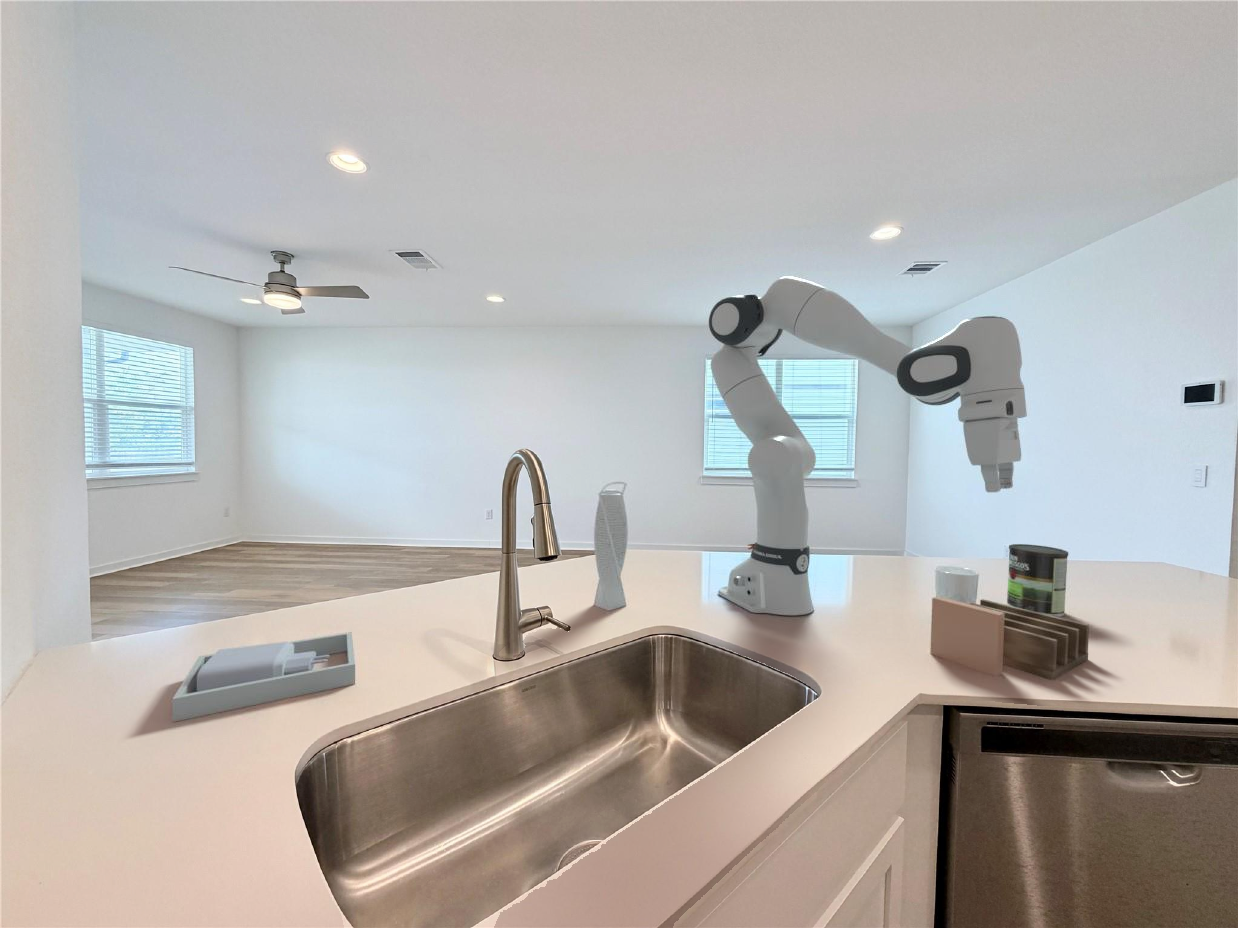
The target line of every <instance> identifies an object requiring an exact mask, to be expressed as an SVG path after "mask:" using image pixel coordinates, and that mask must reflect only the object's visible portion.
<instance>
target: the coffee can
mask: <svg viewBox="0 0 1238 928" xmlns="http://www.w3.org/2000/svg"><path fill="white" fill-rule="evenodd" d="M1008 550H1009V554H1008V555H1009V556H1008V576H1007V594H1006V595H1007V597H1006V598H1007V599H1006V605H1009V606H1013V607H1017V608H1022V609H1026V610H1030V611H1034V612H1038V613H1043V614H1047V615H1051V616H1055V617H1059V618H1062V617H1064V616H1065V615H1066V613H1065V610H1066V592H1067V591H1066V588H1067V573H1068V572H1067V571H1068V570H1067V569H1068V556H1069V551H1067V550H1064V549H1062V548H1061V549H1060V548H1058V547H1057V548H1056V547H1051V546H1046V545H1036V544H1028V543H1027V544H1026V543H1024V544H1023V543H1022V544H1021V543H1017V544H1014V543H1013V544H1009V545H1008Z"/></svg>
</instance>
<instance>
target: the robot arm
mask: <svg viewBox="0 0 1238 928" xmlns="http://www.w3.org/2000/svg"><path fill="white" fill-rule="evenodd" d="M708 328H709V331H710V333H711V335H712V336H713V337H714V338H715V339H716V340H717V342H719V343H721V344H723V346H722V348H720V349H719V350H718V351H717V352H716V353H715V354H714V355H713V356H712V358H711V361H710V369H711V374H712V377H713V379H714V383H715V385H716V388H717V390H718V392H719V394H720V396H721V398H722V401H724V404H725V406H726V408H727V409H728V412H729V413H730V415H731V418H732V419H733V421H734V423H735V424H736V426H737V429H739V430H740V431H741V432H742V433H743V434H744V435H745V437H746V438H747V439H748V440H749V442H750V443H751V445H752V447H751V448H750V450H749V453H748V455H747V467H748V469H749V472H750V473H751V476H752V483H753V489H754V495H755V502H756V513H757V514H756V515H757V516H756V525H757V526H756V542H754V543H751V544H747V546H748V547H747V550H751V553H750V557H749V558H746V560H744V561H743V562H741V563H739V564H738V565H736V566H735V567H734V568H733V569H731V570H730V573H729V576H728V582H727V583H728V585H726V586H723V587H720V588H719V589H718V592H717V594H718V595H719V596H721V597H723V598H724V599H727V600H729V601H730V602H732V603H734V604H736V605H737V606H739V607H741V608H744V609H745V610H746V611H748V612H751V613H754V614H755V613H756V614H773V615H780V616H802V615H807V614H810V613H813V611H814V610H815V607H814V604H813V600H812V595H811V589H810V588H811V587H810V581H809V572H808V571H809V565H810V546H809V545H808V543H809V540H808V539H809V538H808V537H809V508H808V507H807V501H806V493H805V485H804V480H805V479H806V478H808V477H809V476H810V475H811V474H812V472H813V471H814V469H815V466H816V462H817V456H816V452H815V450H814V449H813V447H812V445H811V444H810V443H809V441H808V440H807V438H806V436H805V435H804V434H803V432H802V431H801V429H800V428H799V425H797V424H796V422H795V421H794V419H793V418H792V417H791V415H790V414H789V412H788V411H787V410H786V408H785V407H784V406H783V404H782V402H781V401H780V398H778V395H777V394H776V392H775V391H774V389H773V387H772V385H771V383H770V382H769V380H768V379H767V376H766V375H765V372H764V371H763V369H762V368H761V365H760V364H759V361H758V358H760V357H763V356H764V355H766V353H767V351H769V349H770V348H771V347H773V346H774V345H775V344H776V343H777V342H778V340H779V339H780V337H781V335H782V334H783V331H785V332H787V333H789V334H790V335H792V336H794V337H796V338H798V339H799V340H802V341H804V342H806V343H808V344H811V345H813V346H816V347H818V348H821V349H825V350H828V351H833V352H837V353H840V354H845V355H849V356H851V357H855V358H858V359H861V360H863V361H865V362H868V363H870V364H871V365H873V366H875V367H877V368H878V369H880V370H882V371H884V372H886V373H887V374H890V375H891V376H892V377H893V376H894V377H895V378H896V380H897V383H898V385H899V386H900V388H901V390H903V391H904V392H905V393H906V394H908V395H909V396H911V397H913V398H915V399H916V400H917V401H919V402H920V403H922V404H924V405H928V406H942V405H947V404H949V403H952V402H953V401H955V400H956V399H958V398H960V407H959V408H958V409H957V417H958V421H959V422H961V423H962V425H963V427H962V428H963V435H964V441H965V447H966V453H967V457H968V460H969V462H970V464H971V465H972V466H980V473H981V475H982V479H983V481H984V486H985V487H984V488H985V492H987V493H999V492H1000V491H1001V489H1002V490H1003V489H1004V490H1005V489H1006V490H1007V489H1012V488H1013V487H1014V482H1013V481H1014V480H1013V478H1014V471H1015V469H1014V468H1015V466H1014V463H1017V462H1021V460H1022V449H1021V439H1020V432H1019V424H1018V419H1023V418H1026V417H1027V413H1028V412H1027V406H1026V405H1027V403H1026V393H1025V386H1024V383H1023V381H1022V379H1021V370H1022V365H1023V361H1022V358H1023V357H1022V352H1021V343H1020V340H1019V335H1018V331H1017V328H1016V326H1015V325H1014V323H1013V322H1012V321H1010V320H1009V319H1007V318H1005V317H1002V316H994V315H993V316H990V315H988V316H986V315H985V316H976V317H972V318H967V319H964V320H962V321H960V323H958V324H957V325H956V326H955V327H954V328H953V329H952V330H950V331H949V332H947V333H946V334H944V335H943V336H941V337H939V338H937V339H936V340H933V341H931V342H929V343H927V344H925V345H922V346H920V347H917V348H913V347H911V346H909V345H907V344H905V343H903V342H902V341H900V340H897V339H895V338H893V337H891V336H890V335H887V334H886V333H884V332H882V331H881V330H880V329H878V328H877V327H876V326H875V325H874V324H872V323H871V321H869V320H868V319H867V318H866V317H865V316H864V315H863V313H861V312H860V311H859V310H858V309H857V307H855V305H853V303H851V302H850V301H848V300H847V299H845V297H843V296H841V295H840V294H839V293H837V292H835V291H833V290H831V289H830V288H827V287H825V286H822V285H820V284H818V283H815V282H812V281H809V280H806V279H802V278H798V277H794V276H783V277H780V278H778V279H776V280H774V282H773V283H772V284H771V285H770V286H769V288H768V289H767V291H766V292H765V294H763V295H762V296H760V297H758V296H757V295H756V294H755V293H749V294H748V293H747V294H742V295H733V296H728V297H724V298H723V299H720V300H719V301H717V302H716V304H715V305H714V306H713V307H712V309H711V311H710V314H709V317H708Z"/></svg>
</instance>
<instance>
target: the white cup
mask: <svg viewBox="0 0 1238 928" xmlns="http://www.w3.org/2000/svg"><path fill="white" fill-rule="evenodd" d="M979 576H980V573H979V572H978V571H976V570H974V569H971V568H966V567H960V566H952V565H950V566H949V565H939V566H935V567H934V579H935V580H934V581H935V582H934V583H935V597H937V596H939V597H943V598H947V599H951V600H955V601H959V602H963V603H967V604H969V603H975V604H977V598H978V597H977V596H978V587H979V579H980V578H979Z"/></svg>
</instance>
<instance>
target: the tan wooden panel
mask: <svg viewBox="0 0 1238 928" xmlns="http://www.w3.org/2000/svg"><path fill="white" fill-rule="evenodd" d="M1004 617H1005V613H1003V612H999V611H995V610H991V609H987V608H983V607H979V606H975V605H971V604H967V603H963V602H959V601H955V600H951V599H947V598H943V597H939V596H937V597H936V596H934V597H932V598H931V622H930V624H931V627H930V649H929V650H930V654H931V655H934V656H936V657H938V658H939V657H940V658H942V659H945V660H949V661H950V662H951V661H952V662H954V663H956V664H960V665H962V666H965V667H969V668H971V669H974V670H976V671H980V672H982V673H985V674H988V675H991V676H994V677H998V676H1000V675H1001V676H1002V674H1003V665H1004V664H1003V642H1004Z"/></svg>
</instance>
